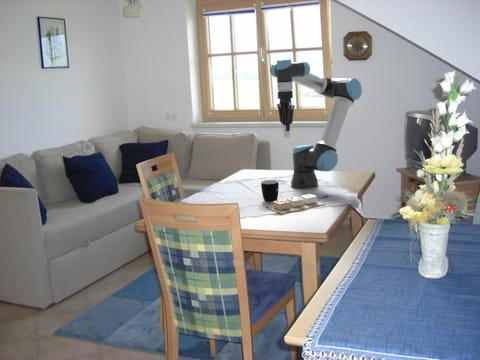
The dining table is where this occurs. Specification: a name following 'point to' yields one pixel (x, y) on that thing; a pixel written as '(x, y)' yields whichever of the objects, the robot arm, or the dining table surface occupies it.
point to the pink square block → (281, 204)
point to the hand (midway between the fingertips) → (286, 137)
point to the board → (297, 207)
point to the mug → (270, 190)
